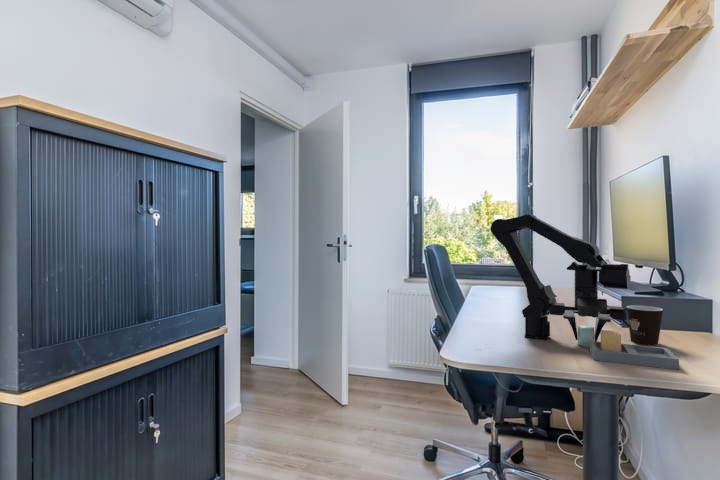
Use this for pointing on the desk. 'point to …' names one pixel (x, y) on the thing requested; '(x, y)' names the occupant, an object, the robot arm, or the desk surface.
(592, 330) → the teal capsule
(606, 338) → the ochre block
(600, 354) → the organizer
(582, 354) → the desk surface
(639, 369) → the desk surface
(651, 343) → the coffee mug
